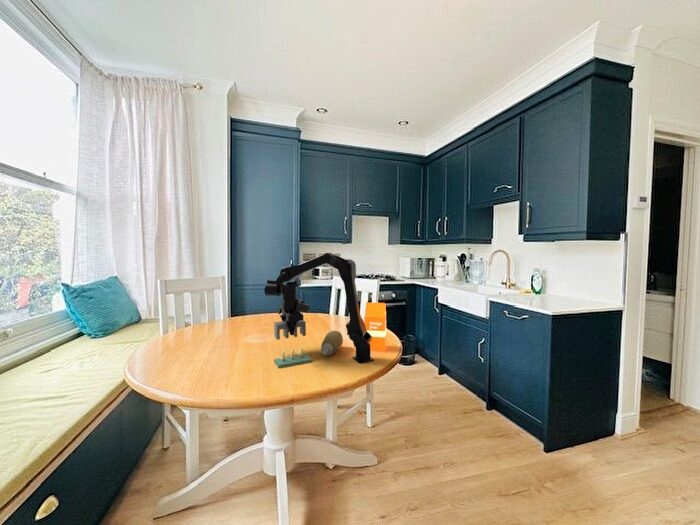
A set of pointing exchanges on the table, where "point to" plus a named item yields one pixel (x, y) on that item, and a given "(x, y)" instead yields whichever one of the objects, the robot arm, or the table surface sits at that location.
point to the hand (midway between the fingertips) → (290, 333)
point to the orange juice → (376, 325)
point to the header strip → (292, 359)
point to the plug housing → (283, 325)
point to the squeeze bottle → (331, 342)
